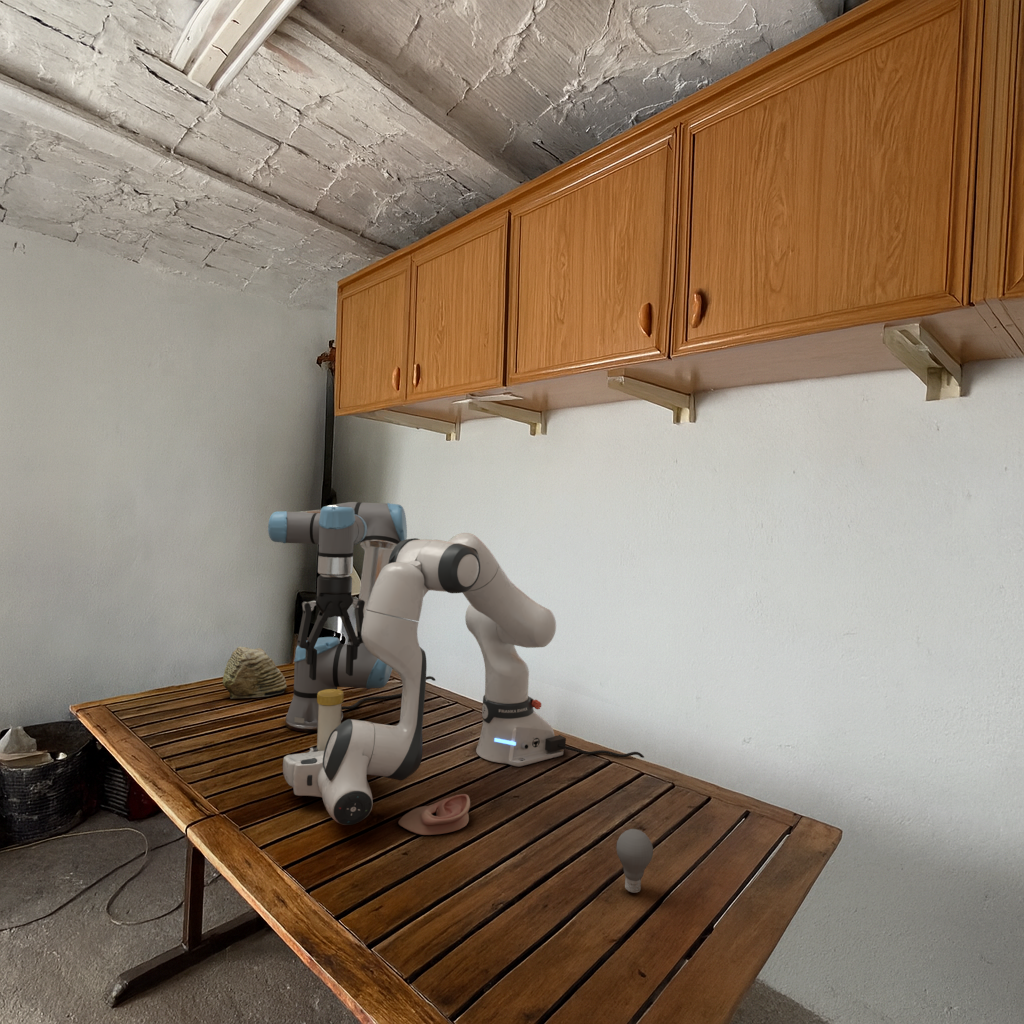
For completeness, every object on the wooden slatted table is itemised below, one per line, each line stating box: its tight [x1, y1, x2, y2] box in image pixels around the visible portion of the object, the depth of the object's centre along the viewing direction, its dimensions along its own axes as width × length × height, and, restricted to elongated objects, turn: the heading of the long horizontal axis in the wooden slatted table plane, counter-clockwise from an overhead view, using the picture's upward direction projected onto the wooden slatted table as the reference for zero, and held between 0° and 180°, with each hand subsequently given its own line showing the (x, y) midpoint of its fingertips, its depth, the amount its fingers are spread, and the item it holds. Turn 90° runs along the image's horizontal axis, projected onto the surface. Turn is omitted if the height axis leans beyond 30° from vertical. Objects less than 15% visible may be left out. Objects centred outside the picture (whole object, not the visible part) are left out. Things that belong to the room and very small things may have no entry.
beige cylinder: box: [316, 702, 343, 751], centre depth 143 cm, size 5×5×19 cm
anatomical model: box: [397, 793, 471, 836], centre depth 125 cm, size 13×4×12 cm
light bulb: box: [615, 828, 654, 894], centre depth 106 cm, size 6×6×10 cm
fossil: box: [222, 646, 288, 699], centre depth 198 cm, size 9×18×15 cm, turn 132°
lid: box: [317, 688, 345, 706], centre depth 143 cm, size 6×6×2 cm
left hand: (331, 676), depth 142 cm, fingers open, 8 cm apart
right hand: (327, 748), depth 144 cm, fingers closed on beige cylinder, 5 cm apart
